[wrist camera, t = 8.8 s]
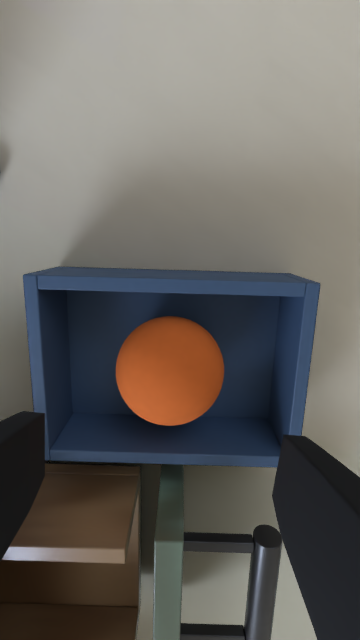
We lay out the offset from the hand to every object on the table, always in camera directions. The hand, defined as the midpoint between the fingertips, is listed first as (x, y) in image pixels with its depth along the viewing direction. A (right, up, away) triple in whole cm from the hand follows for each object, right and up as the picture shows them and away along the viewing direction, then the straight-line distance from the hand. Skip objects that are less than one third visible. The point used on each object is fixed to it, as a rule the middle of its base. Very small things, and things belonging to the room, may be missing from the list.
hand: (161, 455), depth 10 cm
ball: (0, +2, +6) cm, 6 cm away
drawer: (-3, -9, +11) cm, 15 cm away
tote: (0, +2, +9) cm, 9 cm away
